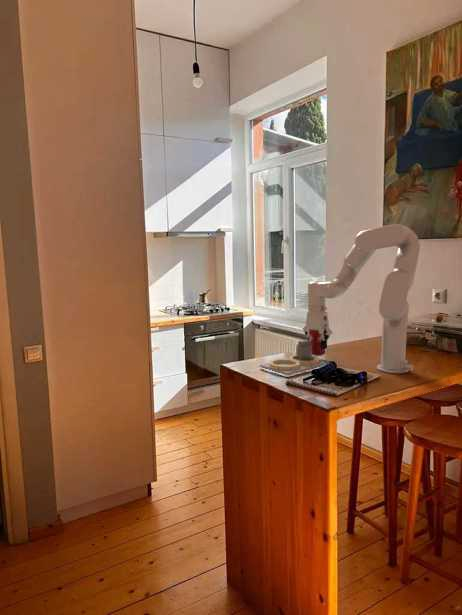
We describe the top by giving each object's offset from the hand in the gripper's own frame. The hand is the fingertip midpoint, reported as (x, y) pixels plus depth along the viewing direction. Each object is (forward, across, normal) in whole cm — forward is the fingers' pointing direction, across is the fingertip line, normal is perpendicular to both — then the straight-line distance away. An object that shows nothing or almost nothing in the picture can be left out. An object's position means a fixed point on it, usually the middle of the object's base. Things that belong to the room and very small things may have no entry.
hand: (317, 347), depth 208 cm
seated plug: (+4, -3, +12) cm, 13 cm away
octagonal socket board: (+6, -3, +18) cm, 20 cm away
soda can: (+4, 0, 0) cm, 4 cm away
